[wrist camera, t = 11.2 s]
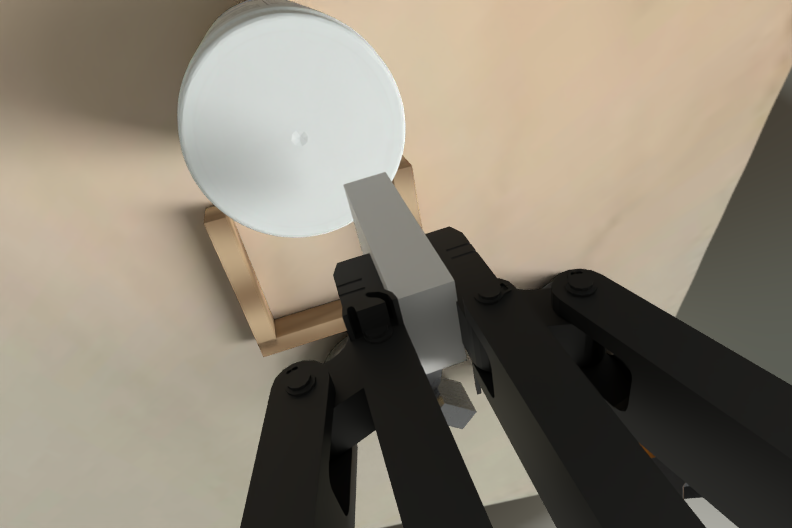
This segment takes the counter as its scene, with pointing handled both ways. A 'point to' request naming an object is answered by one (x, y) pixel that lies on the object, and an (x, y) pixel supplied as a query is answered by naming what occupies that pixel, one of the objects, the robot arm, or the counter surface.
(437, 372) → the turntable
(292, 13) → the supplement tub
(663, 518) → the robot arm
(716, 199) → the counter surface
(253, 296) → the brown piece
